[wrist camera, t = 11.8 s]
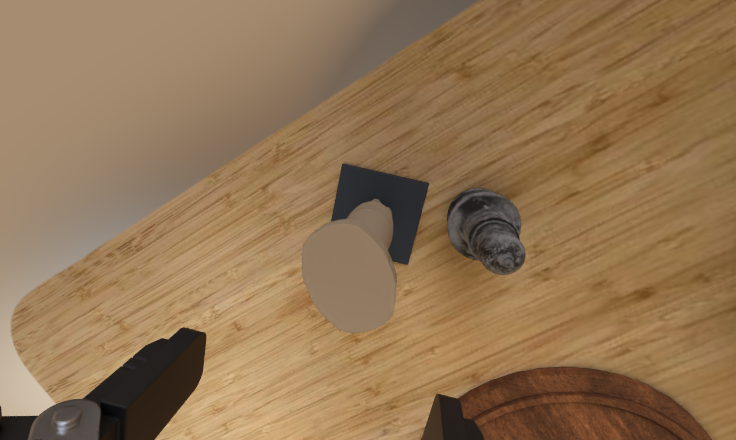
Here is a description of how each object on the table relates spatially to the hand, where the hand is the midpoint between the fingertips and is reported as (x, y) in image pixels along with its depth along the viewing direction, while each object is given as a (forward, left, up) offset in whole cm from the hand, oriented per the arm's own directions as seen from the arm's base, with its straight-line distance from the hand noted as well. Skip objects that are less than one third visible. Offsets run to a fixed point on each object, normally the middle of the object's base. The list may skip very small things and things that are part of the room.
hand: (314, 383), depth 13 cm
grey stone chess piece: (-2, +9, -24) cm, 25 cm away
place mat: (0, 0, -24) cm, 24 cm away
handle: (0, 0, -23) cm, 23 cm away
